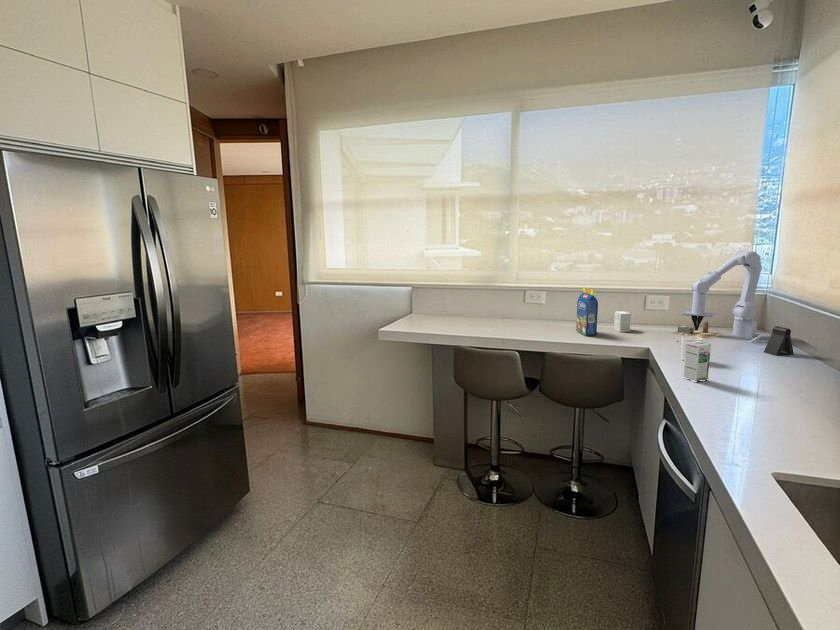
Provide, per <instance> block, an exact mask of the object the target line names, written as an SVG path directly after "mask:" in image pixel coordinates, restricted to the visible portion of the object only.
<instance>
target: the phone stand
mask: <svg viewBox="0 0 840 630" xmlns="http://www.w3.org/2000/svg"><path fill="white" fill-rule="evenodd" d="M791 333H792V330H791V329H790V328H789V327H788V328H787V327H783V326H778V325H776V326H775V325H774V326H773V327H772V332H771V335H770V337H769V339H768V341H767V343H766V346H765V348H764V350H763V353H765V354H769V355H772V356H774V357H779V356H793V355H794V354H795V353H794V348H793V343H792V339H791V338H792V337H791V335H792V334H791Z"/></svg>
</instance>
